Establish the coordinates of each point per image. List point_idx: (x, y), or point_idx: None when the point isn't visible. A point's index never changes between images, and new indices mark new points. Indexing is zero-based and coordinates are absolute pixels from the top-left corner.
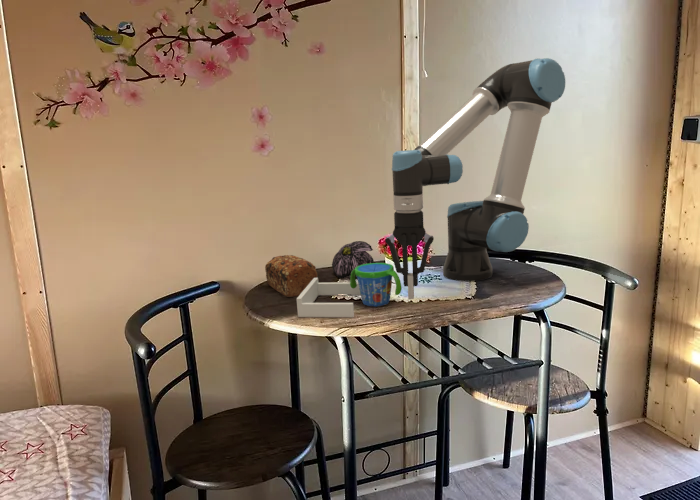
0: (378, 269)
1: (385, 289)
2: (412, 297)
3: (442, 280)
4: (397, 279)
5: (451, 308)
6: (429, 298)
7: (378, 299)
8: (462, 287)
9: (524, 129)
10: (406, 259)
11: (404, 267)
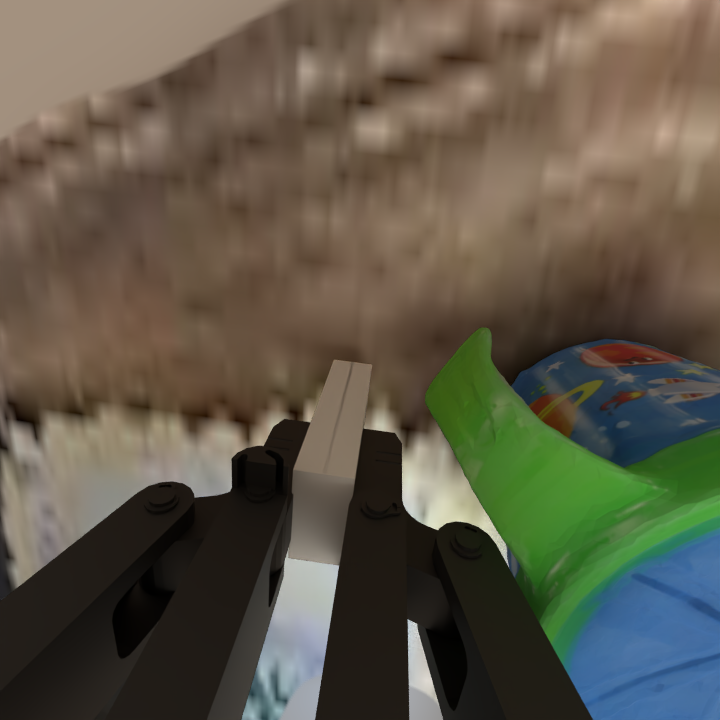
0: (704, 656)
1: (577, 398)
2: (340, 365)
3: None
4: (480, 416)
5: (96, 252)
6: None
7: (613, 349)
8: None
9: None
10: (332, 699)
11: (383, 570)
